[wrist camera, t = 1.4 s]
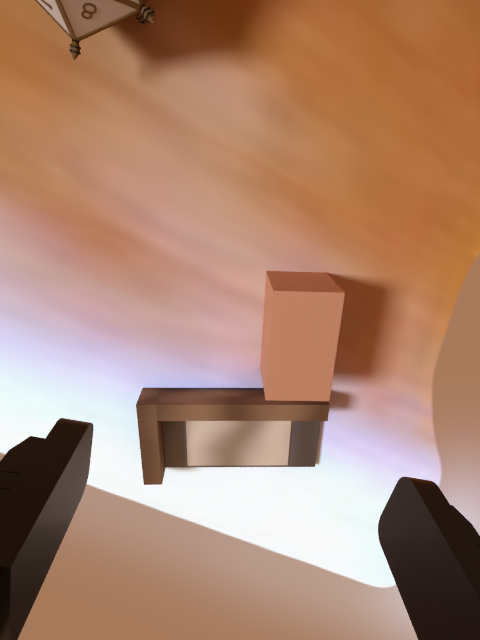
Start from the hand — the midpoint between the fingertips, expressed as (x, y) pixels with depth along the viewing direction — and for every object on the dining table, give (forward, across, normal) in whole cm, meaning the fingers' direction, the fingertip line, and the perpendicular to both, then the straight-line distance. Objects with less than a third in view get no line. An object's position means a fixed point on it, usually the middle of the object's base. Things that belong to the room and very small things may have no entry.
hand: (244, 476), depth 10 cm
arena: (+20, -3, +14) cm, 24 cm away
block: (+20, -5, +3) cm, 21 cm away
